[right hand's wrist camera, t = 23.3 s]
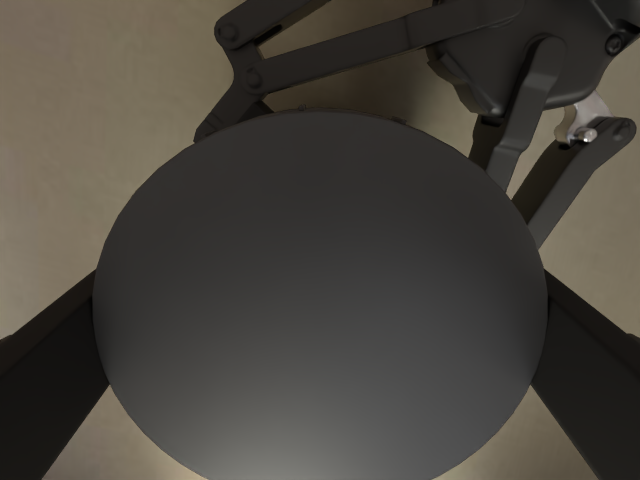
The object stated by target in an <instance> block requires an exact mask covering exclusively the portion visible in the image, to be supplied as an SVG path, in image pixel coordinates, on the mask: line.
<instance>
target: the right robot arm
mask: <svg viewBox="0 0 640 480" xmlns="http://www.w3.org/2000/svg"><path fill="white" fill-rule="evenodd" d="M544 274H545V280H546V286H547V292H548V323H547V330H546V336H545V341H544V346H543V350H542V354H541V358H540V361H539V364H538V368H537V370H536V373H535V375H534V377H533V379H532V381H531V383H530V384H531V386H532V387H533V389H534V390H535V391H536V393H537V394H538V396H539V397H540V398H541V400H542V401H543V403H544V404H545V405H546V407H547V408H548V409H549V411H550V412H551V414H552V415H553V416H554V418H555V419H556V421H557V422H558V423H559V425H560V426H561V428H562V429H563V430H564V432H565V433H566V435H567V436H568V437H569V439H570V440H571V441H572V443H573V444H574V446H575V447H576V448H577V450H578V451H579V453H580V454H581V455H582V457H583V458H584V460H585V461H586V462H587V464H588V465H589V466H590V468H591V469H592V471H593V472H594V473H595V475H596V476H597V478H598V479H599V480H640V338H639V337H637V336H635V335H633V334H626V333H625V332H624V331H623V330H621V329H620V328H619V327H618V326H616V325H615V324H614V323H612V322H611V321H610V320H609V319H607V318H606V317H605V316H604V315H602V314H601V313H600V312H599V311H597V310H596V309H595V308H593V307H592V306H591V305H590V304H588V303H587V302H586V301H585V300H583V299H582V298H581V297H579V296H578V295H577V294H576V293H574V292H573V291H572V290H571V289H569V288H568V287H567V286H565V285H564V284H563V283H562V282H560V281H559V280H558V279H557V278H555V277H554V276H553V275H552V274H550V273H549V272H548V271H546V270H545V269H544ZM95 275H96V269H95V270H94V271H93V272H91V273H90V274H89V275H87V276H86V277H85V278H84V279H82V280H81V281H80V282H79V283H77V284H76V285H75V286H74V287H72V288H71V289H70V290H68V291H67V292H66V293H65V294H63V295H62V296H61V297H60V298H58V299H57V300H56V301H54V302H53V303H52V304H51V305H49V306H48V307H47V308H46V309H44V310H43V311H42V312H40V313H39V314H38V315H37V316H35V317H34V318H33V319H32V320H30V321H29V322H28V323H27V324H25V325H24V326H23V327H21V328H20V329H19V330H18V331H16V332H15V333H14V334H13V335H9V336H7V337H5V338H3V339H1V340H0V480H41V479H42V478H43V477H44V475H45V474H46V472H47V471H48V470H49V468H50V467H51V465H52V464H53V463H54V461H55V460H56V458H57V457H58V456H59V454H60V453H61V452H62V450H63V449H64V447H65V446H66V445H67V443H68V442H69V440H70V439H71V438H72V436H73V435H74V433H75V432H76V431H77V429H78V428H79V427H80V425H81V424H82V422H83V421H84V420H85V418H86V417H87V415H88V414H89V413H90V411H91V410H92V408H93V407H94V406H95V404H96V403H97V402H98V400H99V399H100V397H101V396H102V395H103V393H104V392H105V390H106V389H107V388H108V386H109V385H110V383H109V381H108V379H107V377H106V374H105V372H104V370H103V367H102V363H101V360H100V357H99V353H98V349H97V344H96V340H95V335H94V328H93V322H92V294H93V288H94V281H95Z"/></svg>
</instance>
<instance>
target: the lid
mask: <svg viewBox="0 0 640 480" xmlns="http://www.w3.org/2000/svg"><path fill="white" fill-rule="evenodd" d="M405 124H406V121H405V120H403V119H400V118H397V117H392V119H391V120H390V119H387V118H385V117H382V116H379V115H374V114H369V113H364V112H360V111H355V110H350V109H335V108H320V107H318V108H306V105H301V106H299V109H291V110H285V111H280V112H276V113H271V114H266V115H262V116H258V117H255V118H253V119H250V120H247V121H244V122H242V123H239V124H236V125H233V126H231V127H228V128H225V129H223V130H220V131H219V130H218V129H217V130H214V131H211V132H208V133H206V134H203V135H201V137H202V140H200V141H198V142H196V143H194V144H193V145H191V146H189V147H187V148H185V149H184V150H182V151H181V152H180V153H178V154H177V155H176V156H174V157H173V158H172V159H170V160H169V161H168V162H166V163H165V164H164V165H162V166H161V167H160V168H158V169H157V170H156V171H155V172H154V173H153V174H152V175H151V176H150V177H149V178H148V179H147V180H146V181H145V182H144V183H143V184H142V185H141V186H140V187H139V188H138V189H137V190H136V192H135V193H134V194H133V195H132V197H131V199H130V200H129V201H128V203H127V204H126V206H125V207H124V208H123V210H122V211H121V212H120V214H119V215H118V217H117V219H116V221H115V223H114V225H113V227H112V229H111V231H110V233H109V235H108V237H107V239H106V241H105V243H104V247H103V250H102V253H101V256H100V259H99V262H98V265H97V268H96V275H95V281H94V288H93V294H92V322H93V328H94V335H95V340H96V344H97V349H98V353H99V357H100V360H101V363H102V367H103V370H104V372H105V374H106V377H107V379H108V381H109V383H110V385H111V387H112V389H113V391H114V393H115V395H116V397H117V398H118V400H119V401H120V403H121V404H122V406H123V407H124V409H125V410H126V412H127V414H128V415H129V416H130V417H131V418H132V420H133V421H134V422H135V423H136V424H137V426H138V427H139V428H140V429H141V430H142V432H143V433H144V434H145V435H146V436H147V437H149V438H150V439H151V440H152V441H153V442H154V443H155V444H156V445H157V446H158V447H159V448H160V449H161V450H163V451H164V452H165V453H167V454H168V455H169V456H171V457H172V458H173V459H175V460H176V461H178V462H179V463H180V464H182V465H183V466H185V467H187V468H188V469H190V470H192V471H194V472H195V473H197V474H199V475H200V476H202V477H204V478H206V479H208V480H432V479H434V478H436V477H438V476H440V475H442V474H443V473H445V472H447V471H448V470H450V469H452V468H453V467H455V466H457V465H459V464H460V463H462V462H463V461H464V460H465V459H467V458H468V457H469V456H471V455H472V454H473V453H475V452H476V451H477V450H479V449H480V448H481V447H482V446H483V445H484V444H485V443H486V442H487V441H488V440H490V439H491V438H492V437H493V436H494V435H495V434H496V433H497V432H498V431H499V430H500V428H501V427H502V426H503V425H504V423H505V422H506V421H507V420H508V419H509V417H510V416H511V415H512V414H513V413H514V411H515V409H516V408H517V406H518V405H519V403H520V402H521V400H522V398H523V397H524V395H525V394H526V392H527V390H528V388H529V386H530V383H531V381H532V379H533V377H534V375H535V373H536V370H537V368H538V364H539V361H540V358H541V354H542V350H543V346H544V341H545V336H546V330H547V323H548V292H547V286H546V280H545V274H544V268H543V264H542V261H541V258H540V255H539V252H538V249H537V246H536V243H535V240H534V238H533V236H532V234H531V232H530V230H529V228H528V227H527V225H526V223H525V221H524V219H523V217H522V215H521V213H520V212H519V211H518V209H517V208H516V207H515V205H514V204H513V202H512V201H511V200H510V198H509V197H508V196H507V194H506V193H505V192H504V190H503V189H502V188H501V187H500V186H499V185H498V184H497V183H496V182H495V181H494V180H493V179H492V178H491V177H490V176H489V175H488V172H487V171H486V170H484V169H482V168H481V167H480V166H478V165H477V164H475V163H474V162H473V161H471V160H470V159H469V158H467V157H466V156H464V155H463V154H462V153H460V152H459V151H458V150H456V149H455V148H454V147H452V146H450V145H448V144H446V143H444V142H442V141H440V140H438V139H436V138H434V137H433V136H431V135H429V134H427V133H425V132H423V131H420V130H418V129H415V128H412V127H410V126H407V125H405Z"/></svg>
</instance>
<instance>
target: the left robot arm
mask: <svg viewBox="0 0 640 480" xmlns="http://www.w3.org/2000/svg"><path fill="white" fill-rule="evenodd" d="M330 1H331V0H247V1H245V2H244V3H242V4H241V5H239V6H238V7H236V8H234V9H233V10H231V11H230V12H228V13H227V14H225V15H224V16H222V17H221V18H220V19H219V20H218V21H217V22H216V25H215V28H214V35H215V38H216V40H217V42H218V43H219V44H220V45H221V46H222V48H223V50H224V51H225V53H226V55H227V57H228V59H229V61H230V63H231V65H232V67H233V70H234V80H233V83H232V85H231V87H230V88H229V89H228V91H227V92H226V93H225V94H224V96H223V97H222V98H221V99H220V101H219V102H218V103H217V104H216V106H215V107H214V108H213V109H212V111H211V112H210V113H209V114H208V116H207V117H206V118H205V120H204V121H203V122H202V123H201V124H200V126H199V127H198V128H197V129H196V133H195V136H194V140H193V142H195V143H196V142H198V141H200V140H202V137H201V135H203V134H206V133H208V132H211V131H214V130H217V129H218V130H219V131H220V130H223V129H225V128H228V127H231V126H233V125H236V124H239V123H242V122H244V121H247V120H250V119H253V118H255V117H258V116H262V115H266V114H271V113H274V112H273V111H272V110H271V109H270V108H269V107H268V106H267V105H266V104H265V103H264V102H263V101H262V100H263V99H264V98H265V97H266V96H267V95H268V94H270V93H273V92H276V91H280V90H283V89H287V88H290V87H293V86H297V85H300V84H303V83H307V82H310V81H314V80H317V79H320V78H324V77H327V76H330V75H334V74H337V73H340V72H344V71H347V70H351V69H354V68H357V67H361V66H364V65H367V64H371V63H374V62H378V61H381V60H384V59H388V58H391V57H394V56H398V55H402V54H406V53H409V52H412V51H416V50H419V49H423V48H426V53H427V56H428V59H429V61H428V62H427V64H428V65H429V66H430V67H431V68H432V69H433V71H434V72H435V73H436V74H437V75H438V76H440V77H441V78H443V79H445V80H446V81H448V82H449V83H451V84H452V85H453V86H454V88H455V90H456V92H457V95H458V97H459V99H460V101H461V102H462V103H463V104H464V105H465V106H466V107H467V109H468V110H469V111H470V112H473V113H477V114H479V115H478V118H477V121H476V124H475V127H474V130H473V145H472V148H471V151H470V154H469V157H468V158H469V159H470V160H471V161H473V162H474V163H475V164H477V165H478V166H480V167H481V168H482V169H484V170H486V171H487V172H488V175H489V176H490V177H491V178H492V179H493V180H494V181H495V182H496V183H497V184H498V185H499V186H500V187H501V188H502V189H503V190H504V192H505V193H506V190H507V188H508V185H509V182H510V180H511V177H512V174H513V172H514V169H515V166H516V164H517V161H518V158H519V156H520V154H521V153H522V152H523V151H525V150H526V149H527V148H528V146H529V145H530V143H531V140H532V138H533V135H534V132H535V130H536V127H537V124H538V122H539V119H540V116H541V114H542V111H544V110H549V109H554V108H559V107H564V109H565V115H564V118H563V121H562V122H561V123H560V125H558V126H557V127H555V129H554V135H555V136H556V139H555V140H554V141H553V142H552V143H551V144H550V145H549V146H548V147H547V149H546V150H545V151H544V152H543V153H542V155H541V156H540V157H539V159H538V160H537V162H536V163H535V165H534V166H533V168H532V169H531V171H530V172H529V174H528V175H527V177H526V179H525V180H524V182H523V183H522V185H521V186H520V188H519V189H518V191H517V192H516V194H515V195H514V197H513V198H512V200H511V201H512V202H513V204H514V205H515V207H516V208H517V209H518V211H519V212H520V213H521V215H522V217H523V219H524V221H525V223H526V225H527V227H528V228H529V230H530V232H531V234H532V236H533V238H534V240H535V243H536V246H537V249H539V248H540V247H541V245H542V244H543V242H544V241H545V240H546V238H547V237H548V235H549V234H550V233H551V231H552V230H553V228H554V227H555V226H556V224H557V223H558V221H559V220H560V219H561V217H562V216H563V214H564V213H565V212H566V210H567V209H568V207H569V206H570V204H571V203H572V202H573V200H574V199H575V197H576V196H577V195H578V193H579V192H580V190H581V189H582V188H583V186H584V185H585V183H586V182H587V181H588V179H589V178H590V176H591V175H592V174H593V172H594V171H595V170H596V169H597V168H598V167H600V166H601V165H602V164H603V163H605V162H606V161H607V160H608V159H610V158H611V157H612V156H613V155H615V154H616V153H617V152H618V151H620V150H621V149H622V148H623V147H625V146H626V145H627V144H628V143H629V142H630V141H631V140H632V139H633V138H634V136H635V134H636V125H635V122H634V121H633V120H631V119H629V118H621V117H615V116H613V114H612V113H611V112H610V110H609V109H608V107H607V106H606V104H605V103H604V102H603V100H602V99H601V97H600V96H599V94H598V93H597V92H596V90H595V89H596V87H597V86H598V84H599V82H600V80H601V77H602V75H603V73H604V71H605V69H606V68H607V66H608V65H609V63H610V62H611V61H612V60H613V59H614V58H615V57H616V56H617V55H618V54H619V53H620V52H622V51H623V50H624V49H625V48H627V47H628V46H629V45H631V44H632V43H633V42H634V41H636V40H637V39H638V38H639V37H640V0H433V4H432V7H430V8H426V9H423V10H420V11H417V12H413V13H411V14H408V15H406V16H404V17H401V18H398V19H395V20H392V21H389V22H386V23H382V24H379V25H376V26H372V27H369V28H366V29H363V30H359V31H356V32H353V33H350V34H346V35H343V36H340V37H336V38H333V39H330V40H327V41H323V42H320V43H317V44H314V45H310V46H307V47H304V48H300V49H297V50H294V51H291V52H287V53H284V54H281V55H278V56H274V57H271V58H268V59H264V57H263V55H262V53H261V51H260V49H259V46H260V45H262V44H263V43H265V42H266V41H268V40H270V39H271V38H273V37H274V36H276V35H277V34H279V33H281V32H282V31H284V30H285V29H287V28H289V27H290V26H292V25H293V24H295V23H296V22H298V21H300V20H301V19H303V18H304V17H306V16H307V15H309V14H311V13H312V12H314V11H315V10H317V9H318V8H320V7H322V6H323V5H325V4H326V3H328V2H330Z"/></svg>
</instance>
